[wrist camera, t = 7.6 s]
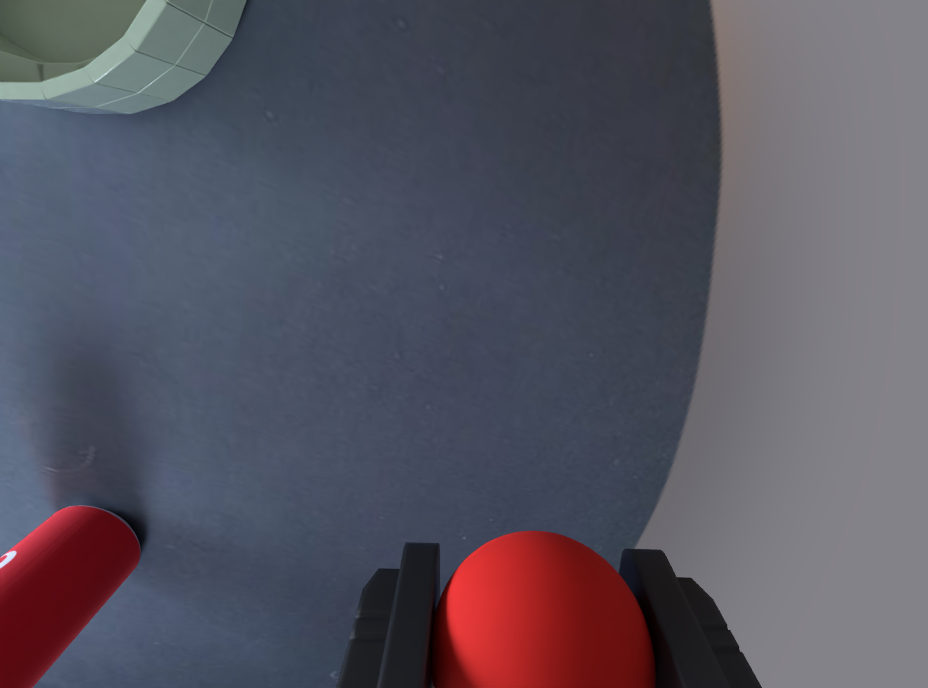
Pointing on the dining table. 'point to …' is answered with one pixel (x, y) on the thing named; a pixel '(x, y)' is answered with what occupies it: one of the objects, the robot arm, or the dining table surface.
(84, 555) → the beverage can
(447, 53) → the dining table surface
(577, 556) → the cherry tomato
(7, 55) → the mixing bowl
